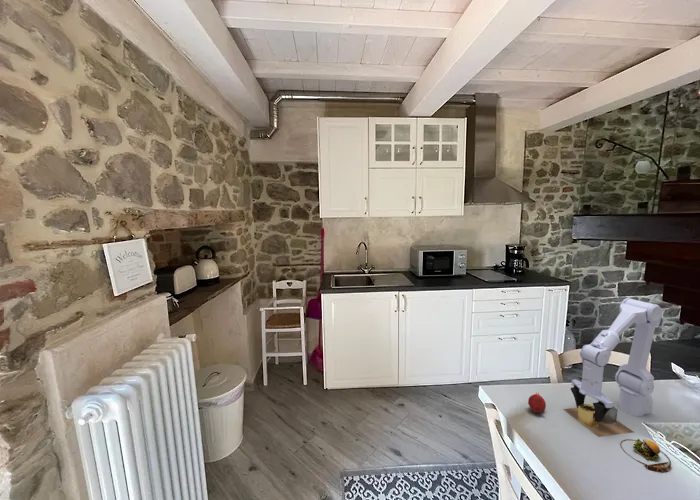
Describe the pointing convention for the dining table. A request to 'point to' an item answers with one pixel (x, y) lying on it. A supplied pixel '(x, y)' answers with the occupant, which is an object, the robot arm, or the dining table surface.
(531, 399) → the red christmas ornament
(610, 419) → the grey stone pot
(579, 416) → the yellow porous cube
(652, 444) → the burger
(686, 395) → the dining table surface
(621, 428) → the gear board
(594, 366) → the robot arm
